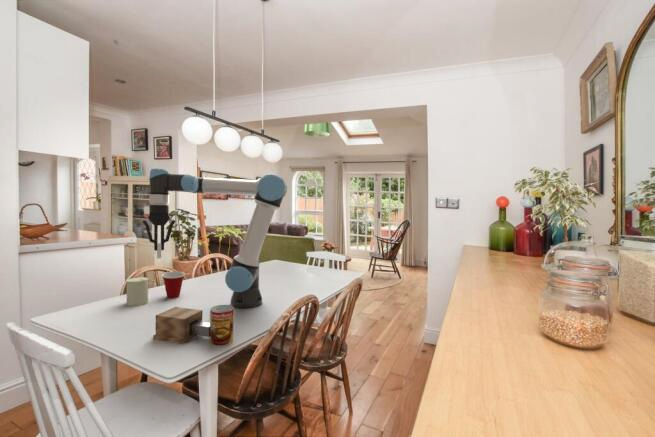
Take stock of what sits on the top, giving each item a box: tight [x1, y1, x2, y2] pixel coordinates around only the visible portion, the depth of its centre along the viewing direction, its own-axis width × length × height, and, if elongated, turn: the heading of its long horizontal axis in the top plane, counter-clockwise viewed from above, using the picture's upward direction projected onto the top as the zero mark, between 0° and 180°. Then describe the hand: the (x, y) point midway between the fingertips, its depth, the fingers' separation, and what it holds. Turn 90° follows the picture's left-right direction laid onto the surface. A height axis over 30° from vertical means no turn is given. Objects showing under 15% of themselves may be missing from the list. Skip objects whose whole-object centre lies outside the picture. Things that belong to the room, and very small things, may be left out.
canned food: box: [209, 304, 235, 347], centre depth 112 cm, size 8×8×12 cm
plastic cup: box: [161, 271, 186, 299], centre depth 164 cm, size 11×11×12 cm
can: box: [125, 277, 149, 307], centre depth 152 cm, size 9×9×12 cm
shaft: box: [189, 321, 210, 338], centre depth 116 cm, size 21×5×5 cm, turn 76°
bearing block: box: [152, 306, 203, 345], centre depth 117 cm, size 13×11×8 cm
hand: (159, 257), depth 140 cm, fingers closed
